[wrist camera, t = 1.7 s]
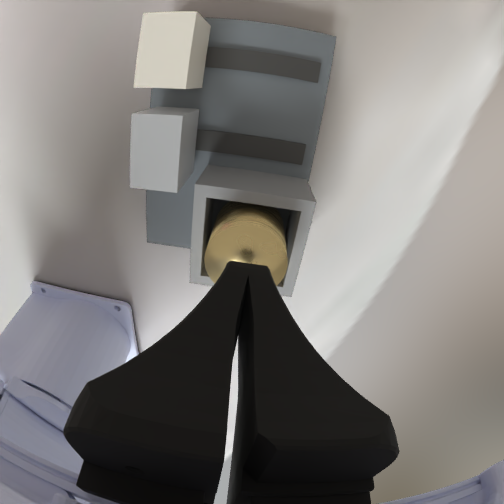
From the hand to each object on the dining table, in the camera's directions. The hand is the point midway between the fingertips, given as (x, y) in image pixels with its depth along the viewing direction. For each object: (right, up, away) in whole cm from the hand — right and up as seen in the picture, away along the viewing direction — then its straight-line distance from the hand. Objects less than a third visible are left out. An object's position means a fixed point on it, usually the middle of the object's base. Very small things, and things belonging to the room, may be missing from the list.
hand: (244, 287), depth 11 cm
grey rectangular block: (-3, +6, +3) cm, 8 cm away
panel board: (-1, +7, +5) cm, 8 cm away
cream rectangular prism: (-3, +10, +1) cm, 10 cm away
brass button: (0, +2, +4) cm, 5 cm away
